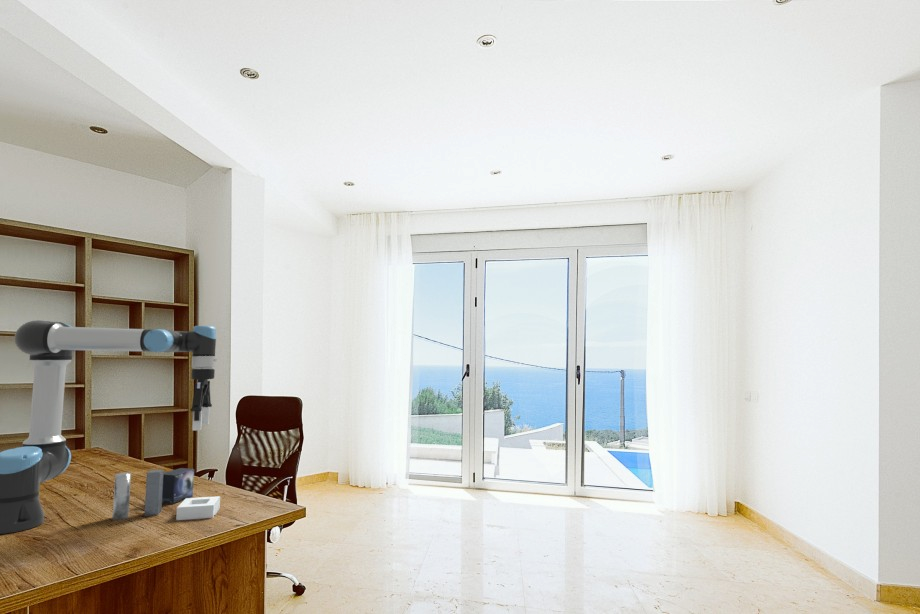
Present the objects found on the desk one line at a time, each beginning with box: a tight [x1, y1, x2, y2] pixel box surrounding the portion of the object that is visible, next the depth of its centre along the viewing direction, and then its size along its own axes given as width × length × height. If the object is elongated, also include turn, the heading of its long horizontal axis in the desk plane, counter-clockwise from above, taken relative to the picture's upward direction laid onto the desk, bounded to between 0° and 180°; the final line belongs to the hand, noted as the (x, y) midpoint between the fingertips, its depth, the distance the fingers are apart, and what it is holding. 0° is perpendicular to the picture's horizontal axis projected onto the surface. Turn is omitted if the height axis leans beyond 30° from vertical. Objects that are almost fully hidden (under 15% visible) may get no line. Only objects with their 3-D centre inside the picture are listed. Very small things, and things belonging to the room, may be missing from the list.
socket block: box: [175, 495, 221, 521], centre depth 174 cm, size 11×11×4 cm
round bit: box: [112, 472, 132, 521], centre depth 170 cm, size 4×4×14 cm
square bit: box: [143, 469, 165, 517], centre depth 174 cm, size 4×4×14 cm
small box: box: [162, 467, 195, 505], centre depth 190 cm, size 11×6×10 cm, turn 168°
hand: (200, 427), depth 185 cm, fingers open, 13 cm apart
